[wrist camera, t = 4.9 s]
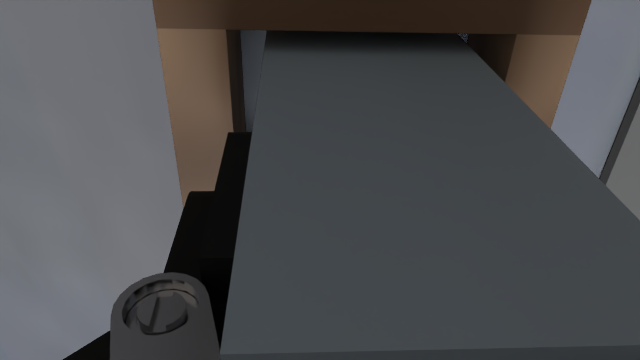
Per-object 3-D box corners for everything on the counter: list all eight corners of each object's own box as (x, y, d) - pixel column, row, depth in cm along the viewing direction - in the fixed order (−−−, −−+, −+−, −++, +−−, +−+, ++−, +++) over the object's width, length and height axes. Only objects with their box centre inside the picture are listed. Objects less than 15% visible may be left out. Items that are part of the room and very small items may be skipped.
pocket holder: (175, -64, 12) (145, -47, 10) (541, -54, 13) (602, -35, 10) (209, 232, 17) (196, 293, 15) (470, 230, 18) (499, 288, 16)
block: (267, 29, 13) (219, 354, 4) (455, 32, 13) (758, 343, 5) (272, 188, 15) (247, 577, 7) (427, 187, 16) (583, 560, 7)
